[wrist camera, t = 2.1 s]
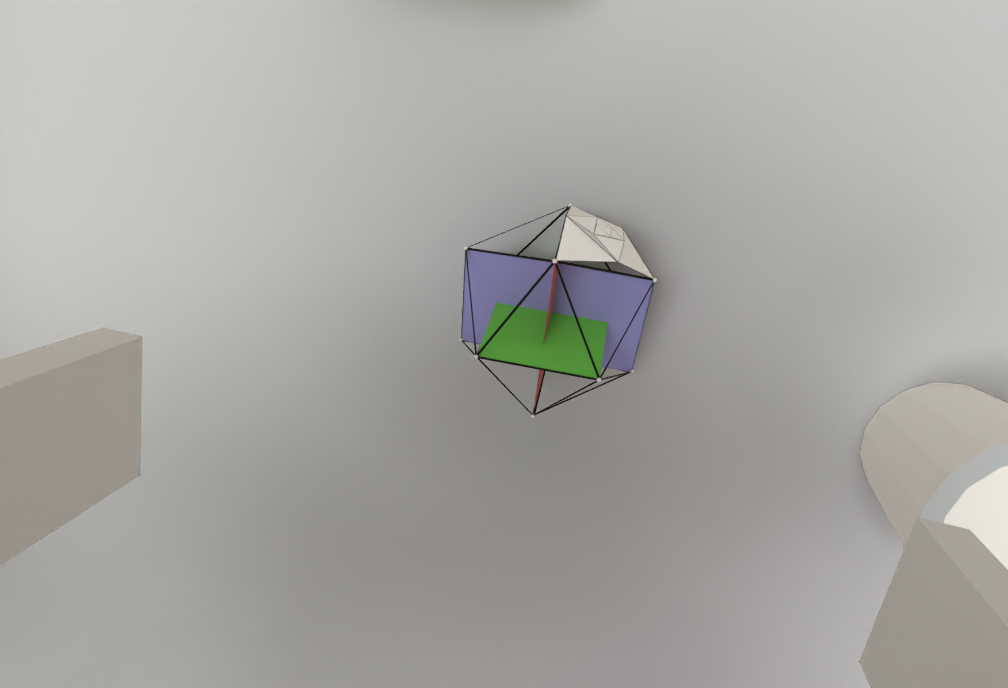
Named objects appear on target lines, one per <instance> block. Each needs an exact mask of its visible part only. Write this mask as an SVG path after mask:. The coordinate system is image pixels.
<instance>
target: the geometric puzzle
mask: <svg viewBox="0 0 1008 688" xmlns="http://www.w3.org/2000/svg"><path fill="white" fill-rule="evenodd" d="M565 208H566V207H565ZM562 209H564V208H562ZM568 209H569V210H568ZM560 210H561V209H560ZM567 210H568V212H567V214H566V216H565V220H564V225H563V229H562V233H561V237H560V242H559V245H558V249H557V252H556V256H555V259H553V260H548V259H541V258H534V257H527V256H520V255H519V254H521V253H522V252H523V251H524V250H525V249H526V248H527V247H528V246H529V245H530V244H531V243H532V242H533V241H535V240H536V239H537V238H538V237H539V236H540V235H541V234H542V233H543V232H544V231H545V230H546V229H547V228H548V227H550V226H551V225H552V224H553V223H554V222H555V221H556V220H557V219H558V218H559V217H560V216H561V215H562V214H563V213H565V212H566V211H567ZM557 211H559V210H557ZM555 212H556V211H555ZM552 213H554V212H552ZM550 214H551V213H550ZM548 215H549V214H548ZM545 216H546V215H545ZM543 217H544V216H543ZM540 218H541V217H540ZM538 219H539V218H538ZM535 220H537V219H535ZM533 221H534V220H533ZM530 222H532V221H530ZM528 223H529V222H528ZM525 224H527V223H525ZM523 225H524V224H523ZM521 226H522V225H521ZM518 227H519V226H518ZM516 228H517V227H516ZM513 229H515V228H513ZM511 230H512V229H511ZM508 231H510V230H508ZM506 232H507V231H506ZM503 233H505V232H503ZM501 234H502V233H501ZM499 235H500V234H499ZM496 236H497V235H496ZM494 237H495V236H494ZM491 238H493V237H491ZM489 239H490V238H489ZM486 240H488V239H486ZM484 241H485V240H484ZM481 242H483V241H481ZM479 243H480V242H479ZM477 244H478V243H477ZM474 245H475V244H474ZM472 246H473V245H472ZM469 247H470V246H469ZM464 250H465V268H464V290H463V311H462V333H461V338H460V339H459V340H460V342H463V343H464V342H472V343H474V345H475V354H474V352H473V351H472V350H471V349H470V348H469V347H468V346H467V345H466V344H465V343H464V344H465V345H466V347H467V348H468V349H469V350H470V351H471V352H472V353H473V354H474V356H473V357H474V359H478V360H479V361H480V362H481V363H482V364H483V365H484V366H485V367H486V368H487V369H488V370H489V371H490V372H491V373H492V374H493V375H494V376H495V374H494V373H493V372H492V371H491V370H490V369H489V368H488V367H487V366H486V365H485V364H484V363H483V362H482V361H481V360H480V359H479V358H481V359H486V360H491V361H497V362H502V363H507V364H513V365H518V366H523V367H529V368H534V369H539V377H538V384H537V391H536V399H535V405H534V409H533V414H532V413H531V412H530V411H529V410H528V409H527V408H526V407H525V406H524V405H523V404H522V403H521V402H520V401H519V400H518V399H517V398H516V396H515V395H514V394H513V393H512V392H511V391H510V390H509V389H508V388H507V387H506V386H505V385H504V384H503V383H502V382H501V381H500V380H499V379H498V378H497V377H496V376H495V377H496V378H497V379H498V380H499V381H500V382H501V383H502V384H503V385H504V387H505V388H506V389H507V390H508V391H509V392H510V393H511V394H512V395H513V396H514V397H515V398H516V399H517V400H518V401H519V402H520V403H521V404H522V405H523V406H524V407H525V408H526V409H527V410H528V411H529V412H530V413H531V418H534V417H535V415H536V414H539V413H541V412H543V411H545V410H548V409H550V408H552V407H554V406H557V405H559V404H561V403H563V402H566V401H568V400H570V399H572V398H575V397H577V396H579V395H581V394H584V393H586V392H588V391H590V390H593V389H595V388H597V387H599V386H602V385H604V384H606V383H608V382H611V381H613V380H615V379H617V378H620V377H622V376H624V375H626V374H629V373H634V370H633V365H634V361H635V357H636V353H637V349H638V345H639V341H640V337H641V333H642V329H643V325H644V321H645V317H646V313H647V309H648V305H649V301H650V297H651V293H652V289H653V285H654V282H656V281H657V279H656V278H653V276H652V275H651V273H650V271H649V270H648V268H647V267H646V265H645V263H644V262H643V260H642V259H641V257H640V255H639V254H638V252H637V251H636V249H635V247H634V246H633V244H632V242H631V241H630V239H629V238H628V236H627V234H626V233H625V231H624V230H623V228H621V227H618V226H616V225H614V224H612V223H610V222H607V221H605V220H603V219H601V218H598V217H596V216H594V215H592V214H590V213H587V212H585V211H583V210H581V209H578V208H576V207H574V206H572V204H571V203H569V204H568V206H567V208H566V209H565V210H564V211H563V212H562V213H561V214H560V215H559V216H558V217H557V218H555V219H554V220H553V221H552V222H551V223H550V224H549V225H548V226H547V227H546V228H545V229H544V230H543V231H542V232H541V233H539V234H538V235H537V236H536V237H535V238H534V239H533V240H532V241H531V242H530V243H529V244H528V245H527V246H526V247H525V248H523V249H522V250H521V251H520V252H519V253H518V254H517V255H514V254H507V253H500V252H493V251H486V250H479V249H472V248H468V246H465V247H464ZM545 261H546V262H545ZM563 261H570V262H605V264H606V266H607V267H608V269H609V270H605V269H600V268H595V267H589V266H584V265H579V264H573V263H568V262H563ZM551 262H552V263H551ZM606 262H610V263H620V264H622V265H624V266H626V267H628V268H631V269H633V270H635V271H637V272H639V273H641V274H643V275H645V276H647V277H650V278H647V277H642V276H637V275H631V274H626V273H621V272H616V271H611V269H610V268H609V266H608V265H607V263H606ZM563 264H566V265H563ZM569 265H571V266H569ZM575 266H576V267H575ZM581 267H582V268H581ZM476 343H477V344H481V345H480V347H479V350H478V353H477V351H476ZM601 367H605V369H604V371H603V373H602V375H601V376H600V374H601ZM606 368H612V369H617V370H621V371H625V372H627V373H623V374H624V375H623V374H619V375H621V376H619V375H614V376H610V377H606V378H602V379H601V377H602V376H603V374H604V372H605V370H606ZM545 371H550V372H555V373H561V374H566V375H571V376H577V377H582V378H587V379H593V380H597V381H595V382H593V383H591V384H589V385H587V386H586V387H588V386H590V385H592V384H594V383H596V382H601V380H603V379H607V378H611V377H615V376H619V377H617V378H615V379H612V380H610V381H608V382H606V383H603V384H601V385H599V386H597V387H594V388H592V389H590V390H588V391H585V392H583V393H581V394H579V395H576V396H574V397H572V398H570V399H567V400H565V401H563V402H561V403H558V402H560V401H562V400H564V399H566V398H568V397H570V396H571V395H573V394H575V393H577V392H579V391H581V390H583V389H584V388H586V387H584V388H582V389H580V390H578V391H576V392H574V393H573V394H571V395H569V396H567V397H565V398H563V399H562V400H560V401H558V402H556V403H554V404H552V405H550V406H549V407H547V408H545V409H543V410H541V411H539V412H537V413H536V414H535V412H536V408H537V404H538V400H539V396H540V392H541V387H542V383H543V379H544V375H545ZM557 403H558V404H557ZM555 404H556V405H555ZM553 405H554V406H553ZM551 406H552V407H551Z"/></svg>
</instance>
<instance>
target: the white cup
mask: <svg viewBox="0 0 1008 688" xmlns="http://www.w3.org/2000/svg"><path fill="white" fill-rule="evenodd" d="M860 457H861V461H862V464H863V468H864V472H865V475H866V478H867V480H868V482H869V484H870V486H871V488H872V489H873V491H874V493H875V495H876V497H877V499H878V500H879V502H880V504H881V506H882V508H883V510H884V511H885V513H886V515H887V517H888V519H889V521H890V522H891V524H892V526H893V528H894V530H895V532H896V533H897V535H898V537H899V539H900V541H901V543H902V544H903V546H904V548H905V546H906V544H907V541H908V539H909V536H910V534H911V532H912V529H913V527H914V524H915V522H916V519H917V517H919V518H923V519H927V520H932V521H936V522H940V523H945V524H949V525H953V526H957V527H962V528H966V529H970V530H971V531H972V532H973V533H974V534H975V536H976V537H977V538H978V539H979V540H980V541H981V542H982V543H983V544H984V545H985V546H986V547H987V548H988V549H989V550H990V551H991V553H992V554H993V555H994V556H995V557H996V558H997V559H998V560H999V561H1000V562H1001V563H1002V564H1003V565H1004V566H1005V567H1006V569H1007V570H1008V403H1006V402H1004V401H1002V400H1000V399H997V398H995V397H993V396H990V395H988V394H986V393H984V392H981V391H979V390H977V389H975V388H972V387H970V386H968V385H965V384H954V383H941V382H933V383H929V384H925V385H921V386H918V387H914V388H910V389H907V390H904V391H902V392H901V393H899V394H898V395H897V396H895V397H894V398H892V399H891V400H889V401H888V402H886V403H885V404H883V405H882V406H880V407H879V409H878V410H877V412H876V413H875V415H874V416H873V418H872V419H871V421H870V422H869V423H868V425H867V426H866V428H865V429H864V434H863V439H862V445H861V450H860Z"/></svg>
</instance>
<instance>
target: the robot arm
mask: <svg viewBox="0 0 1008 688" xmlns="http://www.w3.org/2000/svg"><path fill="white" fill-rule="evenodd" d="M141 376H142V337H141V336H137V335H132V334H128V333H124V332H119V331H115V330H111V329H107V328H101V329H97V330H94V331H91V332H88V333H85V334H82V335H79V336H75V337H72V338H69V339H66V340H63V341H60V342H57V343H53V344H50V345H47V346H44V347H41V348H38V349H35V350H31V351H28V352H25V353H22V354H19V355H16V356H13V357H9V358H6V359H3V360H0V565H2V564H3V563H5V562H6V561H8V560H9V559H11V558H12V557H14V556H16V555H17V554H19V553H20V552H22V551H23V550H25V549H26V548H28V547H29V546H31V545H33V544H34V543H36V542H37V541H39V540H40V539H42V538H43V537H45V536H46V535H48V534H50V533H51V532H53V531H54V530H56V529H57V528H59V527H60V526H62V525H63V524H65V523H67V522H68V521H70V520H71V519H73V518H74V517H76V516H77V515H79V514H81V513H82V512H84V511H85V510H87V509H88V508H90V507H91V506H93V505H94V504H96V503H98V502H99V501H101V500H102V499H104V498H105V497H107V496H108V495H110V494H111V493H113V492H115V491H116V490H118V489H119V488H121V487H122V486H124V485H125V484H127V483H128V482H130V481H132V480H133V479H135V478H136V477H138V476H139V475H140V435H141ZM859 663H860V665H861V667H862V669H863V671H864V673H865V675H866V678H867V680H868V682H869V684H870V686H871V688H1008V570H1007V569H1006V567H1005V566H1004V565H1003V564H1002V563H1001V562H1000V561H999V560H998V559H997V558H996V557H995V556H994V555H993V554H992V553H991V551H990V550H989V549H988V548H987V547H986V546H985V545H984V544H983V543H982V542H981V541H980V540H979V539H978V538H977V537H976V536H975V534H974V533H973V532H972V531H971V530H970V529H966V528H962V527H957V526H953V525H949V524H945V523H940V522H936V521H932V520H927V519H923V518H919V517H917V519H916V522H915V524H914V527H913V529H912V532H911V534H910V536H909V539H908V541H907V544H906V546H905V549H904V551H903V554H902V556H901V559H900V561H899V564H898V566H897V569H896V571H895V574H894V576H893V579H892V581H891V584H890V586H889V589H888V591H887V594H886V596H885V599H884V601H883V604H882V606H881V609H880V611H879V614H878V616H877V619H876V621H875V623H874V626H873V628H872V631H871V633H870V636H869V638H868V641H867V643H866V646H865V648H864V651H863V653H862V656H861V658H860V661H859Z"/></svg>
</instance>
